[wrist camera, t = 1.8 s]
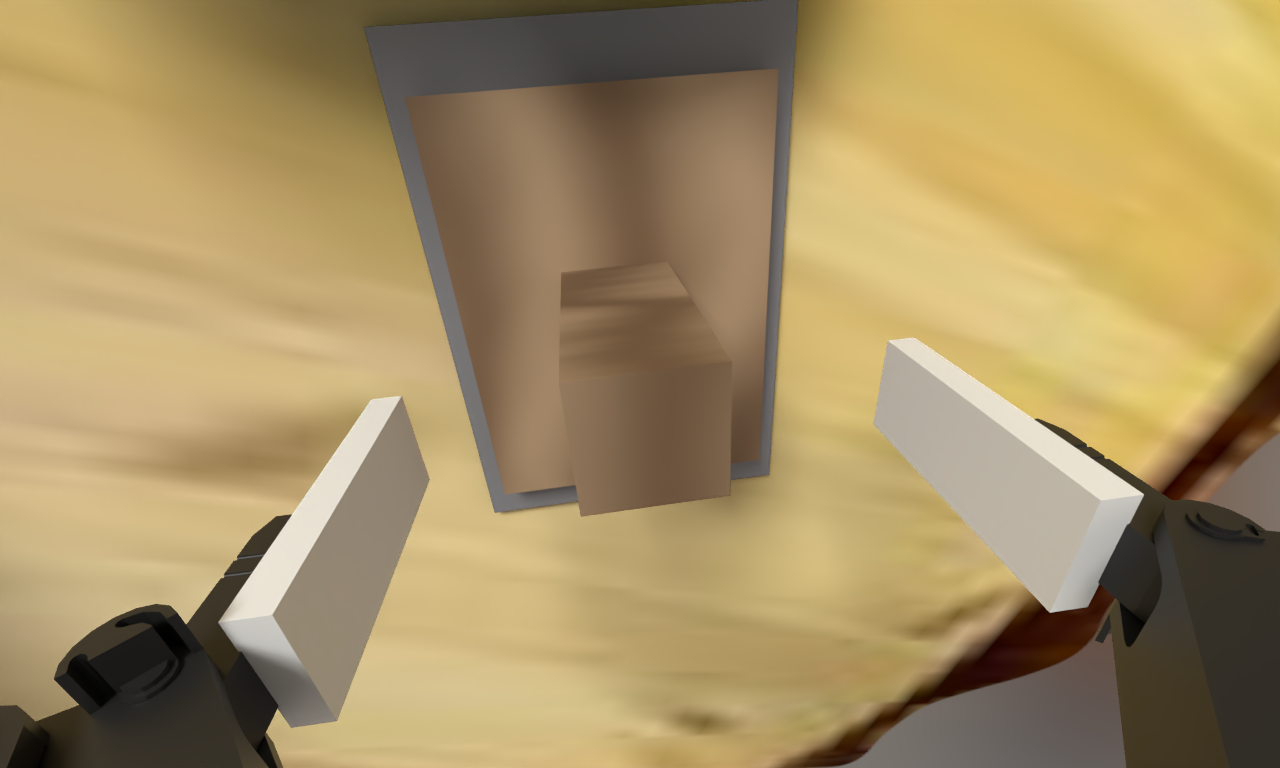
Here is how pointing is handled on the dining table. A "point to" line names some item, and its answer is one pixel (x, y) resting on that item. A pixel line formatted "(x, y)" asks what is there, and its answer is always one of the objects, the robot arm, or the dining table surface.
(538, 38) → the charcoal mat
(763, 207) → the walnut lid
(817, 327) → the dining table surface
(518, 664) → the dining table surface
